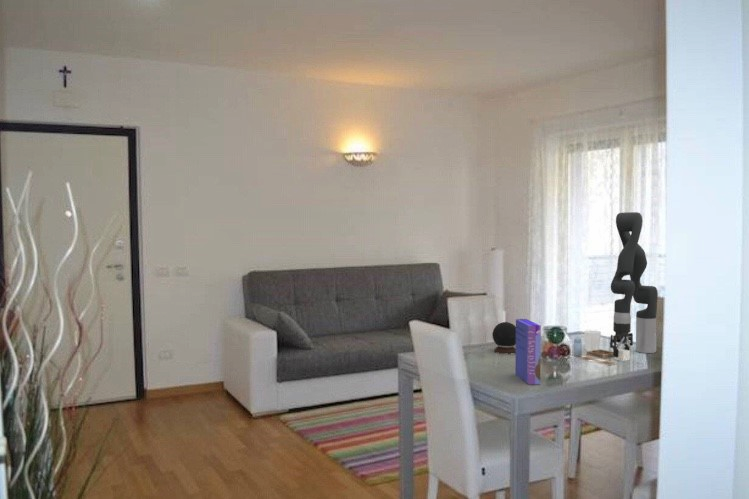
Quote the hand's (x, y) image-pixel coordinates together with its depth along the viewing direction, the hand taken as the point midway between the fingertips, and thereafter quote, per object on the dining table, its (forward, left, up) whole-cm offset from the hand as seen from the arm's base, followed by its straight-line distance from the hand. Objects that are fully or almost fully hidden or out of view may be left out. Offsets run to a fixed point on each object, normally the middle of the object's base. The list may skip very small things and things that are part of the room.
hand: (621, 356), depth 294 cm
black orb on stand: (+30, -46, -2) cm, 54 cm away
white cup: (-7, -22, -2) cm, 23 cm away
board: (+12, -8, -2) cm, 14 cm away
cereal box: (+64, -1, -2) cm, 64 cm away
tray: (0, -11, -2) cm, 11 cm away
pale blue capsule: (+12, -16, -2) cm, 20 cm away
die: (0, 0, -2) cm, 2 cm away
